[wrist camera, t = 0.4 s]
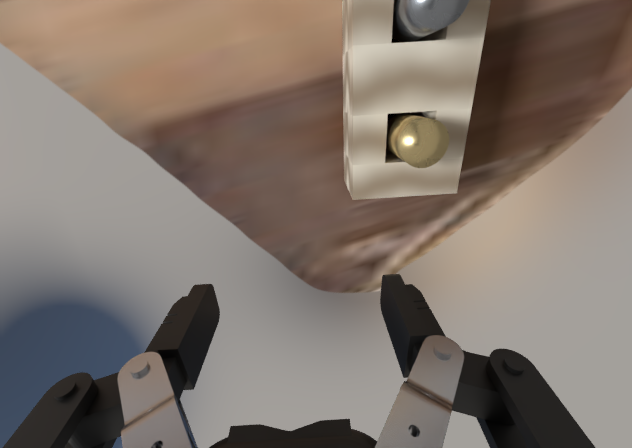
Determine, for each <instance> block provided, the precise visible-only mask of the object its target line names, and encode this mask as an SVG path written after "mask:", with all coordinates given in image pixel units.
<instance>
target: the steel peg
mask: <svg viewBox="0 0 632 448" xmlns="http://www.w3.org/2000/svg"><path fill="white" fill-rule="evenodd" d="M468 3H469V0H394V6H393V25H392V35H393V37H394V38H395V39H397V40H398V41H400V42H414V41H416V40H419V39H421V38H423V37H425V36H427V35H429V34H431V33H434V32H436V31H438V30H440V29H442V28H444V27H446V26H448V25H450V24H452V23H453V22H455V21H456V20H457V19H458V18H459V17H460V16H461V15H462V13H463V12H464V10H465V9H466V7H467V5H468Z"/></svg>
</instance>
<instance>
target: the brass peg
mask: <svg viewBox="0 0 632 448" xmlns="http://www.w3.org/2000/svg"><path fill="white" fill-rule="evenodd" d="M448 145H449V133H448V130H447V129H446V127H445V126H444V125H443V124H442V123H441V122H440V121H438V120H435V119H430V118H425V117H421V116H416V115H411V114H406V113H401V114H397V115H395V116H393V117H392V118H390V119H389V120H388V122H387V137H386V148H387V149H388V150H389V151H391V152H392V153H393V154H395V155H396V156H398V157H399V158H400V159H402V160H403V161H405V162H406V163H408V164H409V165H411V166H413V167H415V168H427V167H430V166H432V165H434V164H436V163H437V162H438V161H439V160H440V159H441V158H442V157H443V156H444V154H445V153H446V151H447V148H448Z"/></svg>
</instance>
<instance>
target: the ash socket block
mask: <svg viewBox="0 0 632 448" xmlns="http://www.w3.org/2000/svg"><path fill="white" fill-rule="evenodd" d="M490 2H491V0H469V3H468V5H467V7H466V9H465V10H464V12H463V13H462V15H461V16H460V17H459V18H458V19H457V20H456V21H455V22H453V23H452V24H450V25H448V26H446V27H444V28H442V29H440V30H438V31H436V32H434V33H431V34H429V35H427V36H425V37H423V38H421V39H419V40H416V42H402V43H392V25H393V6H394V0H342V34H343V120H344V180H345V183H346V185H347V187H348V190H349V192H350V194H351V197H352V199H353V200H357V199H372V198H388V197H403V196H419V195H435V194H450V193H457V189H458V184H459V178H460V172H461V167H462V161H463V155H464V150H465V144H466V138H467V132H468V127H469V121H470V115H471V110H472V104H473V98H474V93H475V87H476V81H477V76H478V70H479V64H480V59H481V53H482V47H483V42H484V36H485V30H486V25H487V19H488V13H489V8H490ZM408 112H410V114H411V115H416V116H421V117H425V118H430V119H435V120H438V121H440V122H441V123H442V124H443V125H444V126H445V127H446V129H447V130H448V133H449V145H448V148H447V151H446V153H445V154H444V156H443V157H442V158H441V159H440V160H439V161H438V162H437V163H436V164H434V165H432V166H430V167H427V168H415V167H413V166H411V165H409V164H408V163H406V162H405V161H403V160H402V159H400V158H399V157H398V156H396V155H395V154H393V153H392V152H391V151H389V150H388V149H387V148H386V137H387V118H388V114H392V113H408Z"/></svg>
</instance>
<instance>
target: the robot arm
mask: <svg viewBox="0 0 632 448" xmlns="http://www.w3.org/2000/svg"><path fill="white" fill-rule="evenodd" d="M380 304H381V311H382V315H383V318H384V321H385V323H386V327H387V330H388V333H389V335H390V338H391V341H392V344H393V347H394V350H395V353H396V356H397V359H398V362H399V365H400V368H401V371H402V374H403V377H404V378H406V377H408V379H407V381H406V382H405V381H404V383H403V384H402V386H401V388H400V391H399V393H398V395H397V398H396V400H395V402H394V404H393V407H392V409H391V412H390V414H389V416H388V418H387V421H386V423H385V425H384V427H383V430H382V432H381V434H380V437H379V439H378V441H376V440H374V439H373V438H371V437H370V436H368V435H366V434H365V433H362V432H360V431H357V430H354V429H351V426H350V419H340V420H324V421H319V422H316V423H313V424H310V425H307V426H304V427H302V428H299V429H296V430H293V431H285V430H281V429H277V428H272V427H269V426H264V425H243V426H231V428H230V432H229V436H228V437H227V438H225V439H223V440H221V441H219V442H217V443H215V444H214V445H212V446H211V447H209V448H442V447H443V443H444V439H445V435H446V431H447V427H448V423H449V419H450V415H451V411H452V410H453V411H456V412H460V413H464V414H467V415H471V416H474V417H476V418H477V420H478V422H479V424H480V426H481V428H482V431H483V433H484V435H485V437H486V439H487V442H488V444H489V446H490V448H595V447H594V445H593V444H592V443H591V441H590V440H589V439H588V437H587V436H586V435H585V433H584V432H583V430H582V429H581V428H580V427H579V425H578V424H577V422H576V421H575V420H574V419H573V417H572V416H571V414H570V413H569V412H568V411H567V409H566V408H565V407H564V405H563V404H562V403H561V401H560V400H559V398H558V397H557V396H556V395H555V393H554V392H553V390H552V389H551V388H550V386H549V385H548V384H547V382H546V381H545V380H544V378H543V377H542V376H541V374H540V373H539V372H538V370H537V369H536V368H535V366H534V365H533V364H532V363H531V362H530V361H529V360H528V359H527V358H525V357H524V356H522V355H521V354H519V353H517V352H515V351H512V350H508V349H496V350H494V351H493V352H492V353H491V354H490V357H487V356H482V355H478V354H473V353H469V352H466V351H463V350H462V349H461V348H460V347H459V345H458V344H457V343H456V342H454V341H453V340H451V339H449V338H447V337H446V336H445V335H444V333H443V331H442V329H441V327H440V326H439V324H438V322H437V320H436V319H435V317H434V315H433V313H432V311H431V309H429V306H428V304H427V302H425V299H424V297H423V295H422V293H421V292H420V291H419V290H418V289H417V288H416V287H414V286H413V285H412V284H409V285H405V284H404V282H403V280H402V278H401V276H400V275H399V274H390V275H383V276H382V286H381V299H380ZM219 313H220V311H219V306H218V302H217V298H216V295H215V291H214V287H213V285H212V284H202V285H194V286H193V288H192V289H191V291H190V293H189V295H188V296H186V297H182V298H181V299H180V300H178V301H177V302H176V303H175V304H174V305H173V306H172V308H171V309H170V311H169V313H168V316H166V318H165V320H164V321H163V324H161V326H160V328H159V329H158V331H157V333H156V334H155V336H154V338H153V339H152V341H151V343H150V344H149V346H148V348H147V349H146V351H145V352H144V353H142V354H140V355H137V356H136V357H134V358H132V359H131V360H129V361H128V362H127V363H126V364H125V365H124V366H123V368H122V369H121V370H120V372H118V373H115V374H112V375H109V376H106V377H103V378H100V379H97V380H93V378H92V377H91V375H89V374H88V373H77V374H73V375H70V376H68V377H66V378H64V379H62V380H61V381H59V382H57V383H56V384H55V385H54V386H52V387H51V388H50V389H49V390H48V391H47V392H46V393H45V394H44V396H43V397H42V398H41V400H40V401H39V402H38V403H37V405H36V406H35V407H34V408H33V410H32V411H31V412H30V414H29V415H28V416H27V417H26V419H25V420H24V421H23V423H22V424H21V425H20V426H19V428H18V429H17V430H16V432H15V433H14V434H13V435H12V437H11V438H10V439H9V440H8V442H7V443H6V444H5V445H4V447H3V448H112V447H113V445H114V443H115V441H116V439H117V437H120V436H121V438H122V445H123V448H198V447H197V445H196V442H195V439H194V436H193V434H192V431H191V428H190V426H189V423H188V420H187V417H186V414H185V412H184V409H183V406H182V403H181V401H180V397H181V394H182V392H183V390H191V389H194V387H195V384H196V382H197V379H198V376H199V374H200V371H201V368H202V365H203V363H204V360H205V357H206V355H207V352H208V349H209V346H210V344H211V341H212V338H213V336H214V332H215V330H216V327H217V325H218V322H219V315H220V314H219Z"/></svg>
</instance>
